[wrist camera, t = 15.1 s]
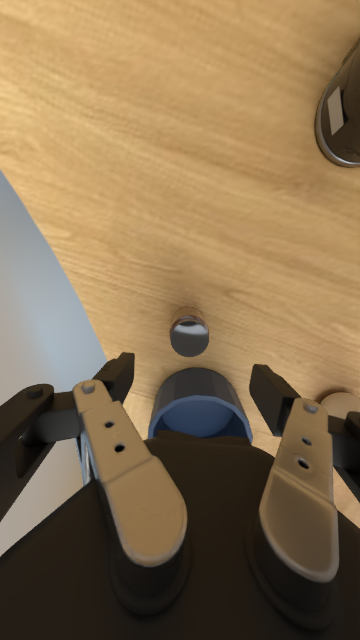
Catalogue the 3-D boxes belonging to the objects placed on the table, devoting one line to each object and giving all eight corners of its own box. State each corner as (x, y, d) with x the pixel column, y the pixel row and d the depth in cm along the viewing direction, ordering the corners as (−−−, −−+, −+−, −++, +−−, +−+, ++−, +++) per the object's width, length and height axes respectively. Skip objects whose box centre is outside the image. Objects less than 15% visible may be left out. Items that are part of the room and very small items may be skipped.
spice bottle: (174, 304, 25) (169, 316, 18) (205, 307, 25) (213, 320, 18) (171, 334, 26) (166, 357, 19) (201, 337, 26) (208, 360, 19)
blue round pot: (158, 363, 27) (150, 390, 21) (243, 371, 27) (261, 400, 21) (153, 434, 30) (145, 476, 24) (230, 441, 30) (242, 485, 24)
